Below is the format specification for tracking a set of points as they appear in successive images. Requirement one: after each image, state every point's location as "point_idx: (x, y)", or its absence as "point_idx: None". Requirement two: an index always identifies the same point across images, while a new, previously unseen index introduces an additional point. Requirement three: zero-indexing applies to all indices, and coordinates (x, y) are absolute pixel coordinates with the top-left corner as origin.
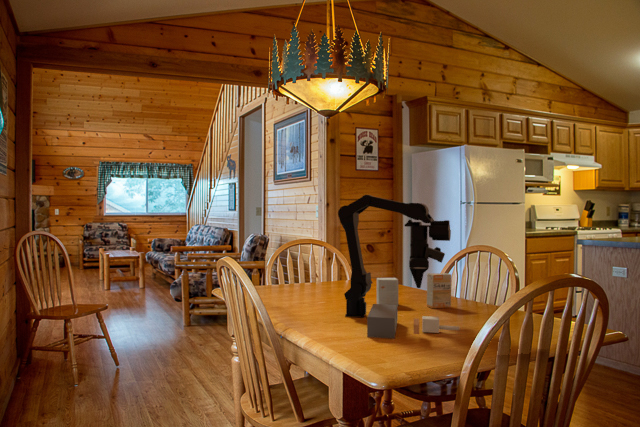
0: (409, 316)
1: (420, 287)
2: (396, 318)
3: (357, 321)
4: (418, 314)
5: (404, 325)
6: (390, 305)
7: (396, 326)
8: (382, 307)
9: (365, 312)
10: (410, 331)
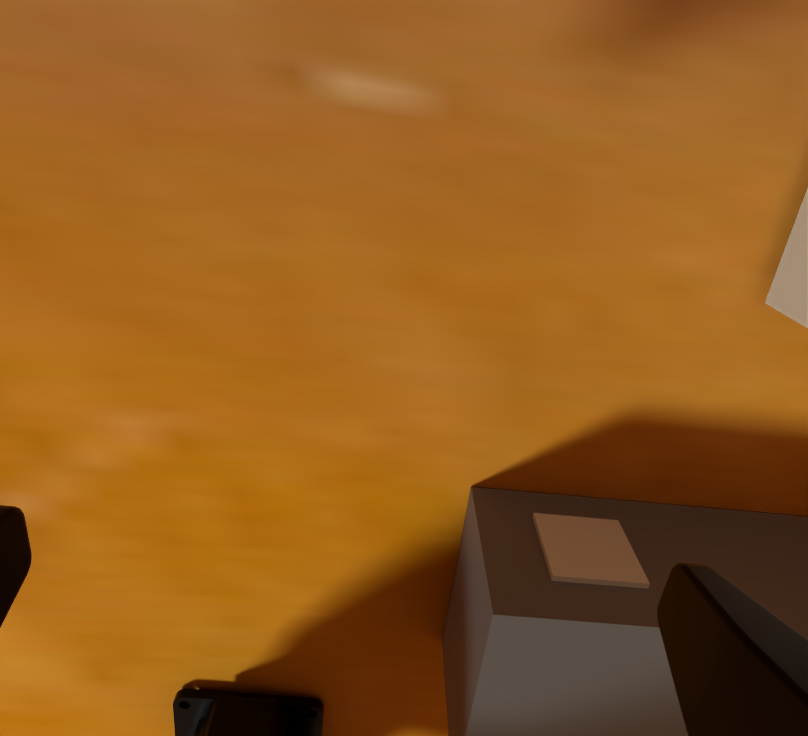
0: (168, 360)
1: (711, 570)
2: (645, 549)
3: (442, 724)
4: (30, 255)
5: (565, 435)
6: (527, 671)
7: (609, 499)
8: (633, 733)
9: (271, 716)
10: (789, 405)
